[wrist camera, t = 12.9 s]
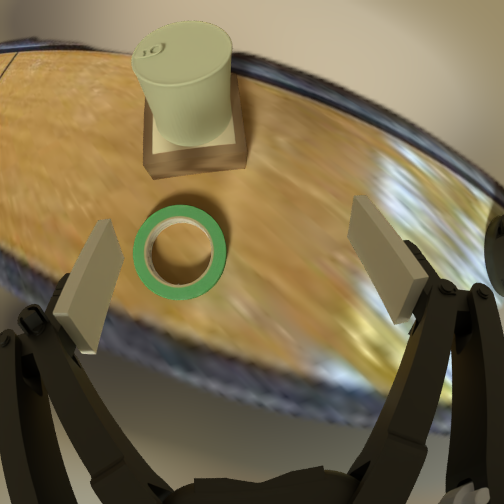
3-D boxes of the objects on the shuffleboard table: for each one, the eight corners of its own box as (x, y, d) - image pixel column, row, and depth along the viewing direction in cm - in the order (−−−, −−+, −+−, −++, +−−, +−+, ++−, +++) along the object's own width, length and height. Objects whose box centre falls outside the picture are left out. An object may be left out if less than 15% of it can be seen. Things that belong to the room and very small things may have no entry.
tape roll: (144, 208, 36) (138, 202, 34) (229, 212, 37) (229, 206, 34) (136, 295, 35) (129, 295, 32) (223, 302, 36) (223, 304, 33)
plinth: (235, 95, 39) (236, 73, 34) (245, 168, 37) (247, 150, 32) (153, 105, 38) (145, 85, 33) (153, 179, 36) (142, 164, 31)
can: (157, 90, 33) (136, 24, 21) (229, 82, 33) (230, 13, 21) (154, 151, 32) (122, 91, 20) (234, 143, 32) (236, 76, 20)
